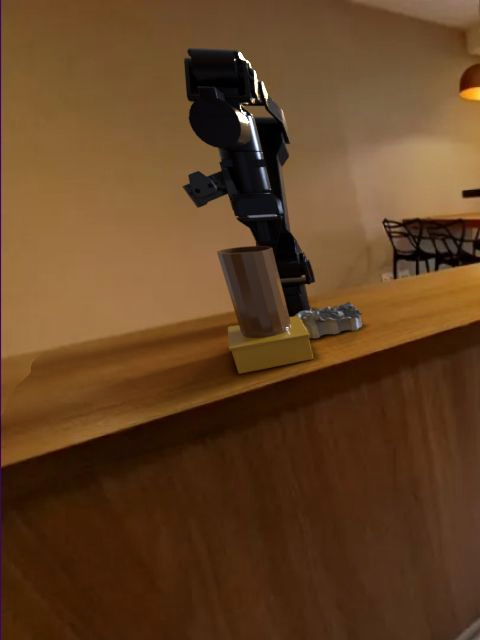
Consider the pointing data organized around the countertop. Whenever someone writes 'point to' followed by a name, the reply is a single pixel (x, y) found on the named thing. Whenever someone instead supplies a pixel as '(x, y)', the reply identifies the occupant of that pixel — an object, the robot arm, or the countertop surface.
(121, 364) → the countertop surface
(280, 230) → the robot arm
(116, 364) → the countertop surface
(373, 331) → the countertop surface
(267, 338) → the yellow block
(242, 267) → the brown faceted cup
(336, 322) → the grey knobbed block
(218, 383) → the countertop surface
